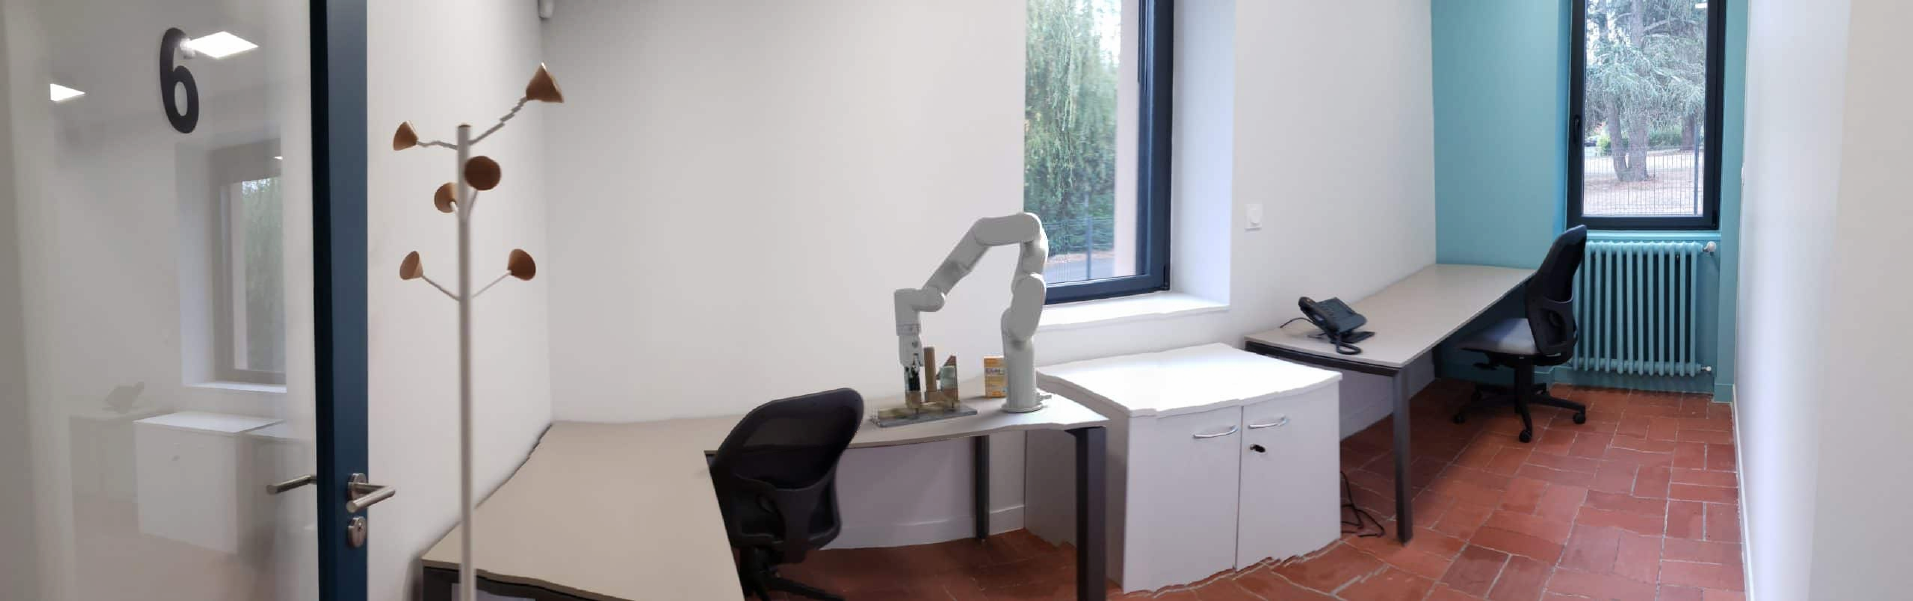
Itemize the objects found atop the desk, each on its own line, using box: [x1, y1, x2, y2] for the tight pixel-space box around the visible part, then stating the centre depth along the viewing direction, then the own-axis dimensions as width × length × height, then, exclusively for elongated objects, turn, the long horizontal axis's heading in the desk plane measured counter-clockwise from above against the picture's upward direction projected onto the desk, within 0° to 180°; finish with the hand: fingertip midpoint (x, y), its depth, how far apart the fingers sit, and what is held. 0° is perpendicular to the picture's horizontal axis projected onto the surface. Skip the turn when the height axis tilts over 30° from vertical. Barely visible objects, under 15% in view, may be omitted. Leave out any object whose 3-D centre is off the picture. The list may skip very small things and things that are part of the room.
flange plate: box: [868, 402, 978, 427], centre depth 319 cm, size 30×14×1 cm, turn 112°
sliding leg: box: [903, 371, 923, 414], centre depth 318 cm, size 4×6×12 cm, turn 22°
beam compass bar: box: [877, 366, 961, 418], centre depth 319 cm, size 26×7×13 cm, turn 112°
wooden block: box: [923, 346, 960, 403], centre depth 339 cm, size 4×11×18 cm, turn 117°
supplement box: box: [983, 355, 1006, 398], centre depth 341 cm, size 8×5×13 cm, turn 81°
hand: (912, 389), depth 317 cm, fingers closed on sliding leg, 2 cm apart
